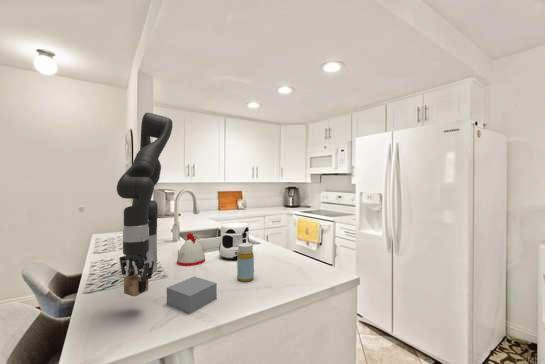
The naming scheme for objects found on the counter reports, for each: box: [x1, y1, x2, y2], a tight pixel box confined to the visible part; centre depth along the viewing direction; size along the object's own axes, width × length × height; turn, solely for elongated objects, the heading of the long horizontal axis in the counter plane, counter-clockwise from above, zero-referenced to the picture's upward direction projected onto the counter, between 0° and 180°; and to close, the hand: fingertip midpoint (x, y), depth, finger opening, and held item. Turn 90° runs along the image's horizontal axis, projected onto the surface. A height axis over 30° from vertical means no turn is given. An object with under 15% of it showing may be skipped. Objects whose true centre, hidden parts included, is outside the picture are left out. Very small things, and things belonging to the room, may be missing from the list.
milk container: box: [218, 221, 250, 260], centre depth 141 cm, size 17×17×18 cm
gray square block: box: [166, 276, 218, 315], centre depth 90 cm, size 12×12×6 cm
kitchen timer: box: [176, 232, 206, 267], centre depth 132 cm, size 14×14×15 cm
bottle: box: [236, 242, 255, 283], centre depth 109 cm, size 7×7×15 cm
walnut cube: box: [123, 274, 149, 298], centre depth 82 cm, size 5×5×5 cm
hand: (136, 289), depth 82 cm, fingers closed on walnut cube, 5 cm apart
